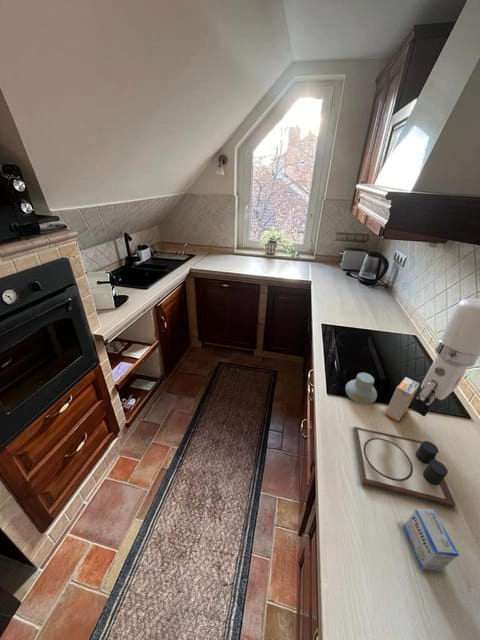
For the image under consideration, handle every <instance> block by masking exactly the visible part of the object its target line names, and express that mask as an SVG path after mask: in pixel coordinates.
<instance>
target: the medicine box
mask: <svg viewBox="0 0 480 640" xmlns="http://www.w3.org/2000/svg"><path fill="white" fill-rule="evenodd" d="M402 528H403V530H404V533H405V535H406V537H407V540H408V542H409V544H410V546H411V549H412V551H413V553H414V555H415V558H416V561H417V562H418V565H419V567H420V569H421V570H429V571H430V570H431V571H443V570H444V569H445V568H446V567H447V566H448V565H449V564H450V563H452V561H453V560H455V559H456V558H457V557H459V556H460V554H459V552H458V550H457V548H456V547H455V545H454V543H453V542H452V539H451V537H450V536H449V534H448V532H447V530H446V529H445V527H444V525H443V523H442V521H441V520H440V517H439V516H438V514H437V512H436V510H435V509H428V508H427V509H426V508H416V509H415V510H413V512H412V513H411V514H410V516H409V517H408V518H407V520H406V521H405V522H404V523H403V525H402Z"/></svg>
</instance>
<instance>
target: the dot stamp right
mask: <svg viewBox="0 0 480 640" xmlns="http://www.w3.org/2000/svg"><path fill="white" fill-rule="evenodd" d="M448 473H449V471H448V467H446V465H445V464H443V463H442V462H441V461H439V460H437V459H436V460H432V461H430V463H429V464H428V466H427V467H426V469H425V470H424V472H423V476H424V478H425V479H426V480H427V481H428V482H429V483H430V484H432V485H439V484H440V483H441V482H442V480H443V479H445V478H446V477H447V475H448Z"/></svg>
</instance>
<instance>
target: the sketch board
mask: <svg viewBox="0 0 480 640" xmlns="http://www.w3.org/2000/svg"><path fill="white" fill-rule="evenodd" d="M352 430H353V437H354V444H355V449H356V456H357V462H358V469H359V475H360V482H361V483H360V484H361V486H366V487H370V488H373V489H377V490H381V491H385V492H388V493H389V492H390V493H393V494H397V495H400V496H404V497H409V498H411V499H416V500H420V501H424V502H426V503H432V504H435V505H438V506H442V507H446V508H451V509H455V507H457V505H456V502H455V500H454V498H453V495H452V494H451V491H450V489H449V487H448V484H447V482H446V479H445V478H444V479H443V480H442V482H441V483H440V484H439V485H432V484H430V483H429V482H428V481H427V480H426V479H425V478H424V476H423V472H424V470H425V469H426V467H427V466H428V464H424V463H422V462H421V461H419V460H418V458H417V457H416V452H417V450H418V449H419V447H420V445H421V444H422V442H423V441H422V440H418V439H417V440H416V439H413V438H408V437H403V436H398V435H394V434H391V433H390V434H389V433H386V432H385V433H384V432H379V431H376V430H371V429H367V428H362V427H356V426H353V429H352ZM433 460H436V461H437V458H436V457H435V458H434V459H433Z"/></svg>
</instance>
